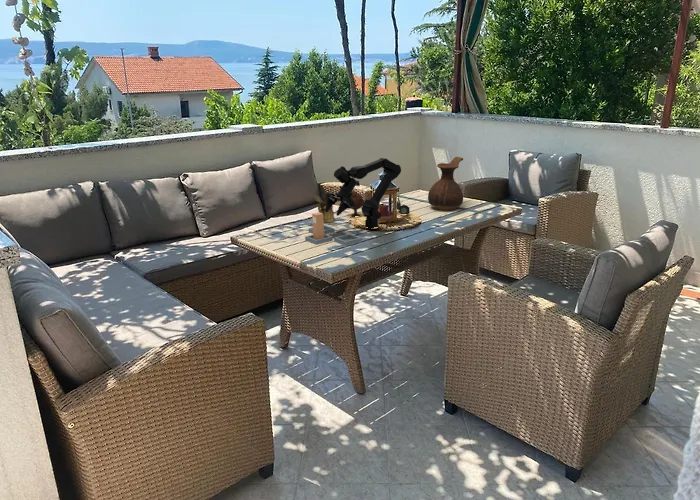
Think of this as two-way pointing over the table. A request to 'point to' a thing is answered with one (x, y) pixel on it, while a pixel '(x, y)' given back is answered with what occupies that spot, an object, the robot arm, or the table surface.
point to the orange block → (318, 226)
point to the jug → (446, 188)
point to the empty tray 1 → (326, 230)
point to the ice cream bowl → (357, 202)
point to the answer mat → (337, 234)
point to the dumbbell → (402, 208)
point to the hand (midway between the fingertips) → (331, 213)
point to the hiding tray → (319, 241)
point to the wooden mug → (327, 216)
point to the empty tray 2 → (348, 239)
